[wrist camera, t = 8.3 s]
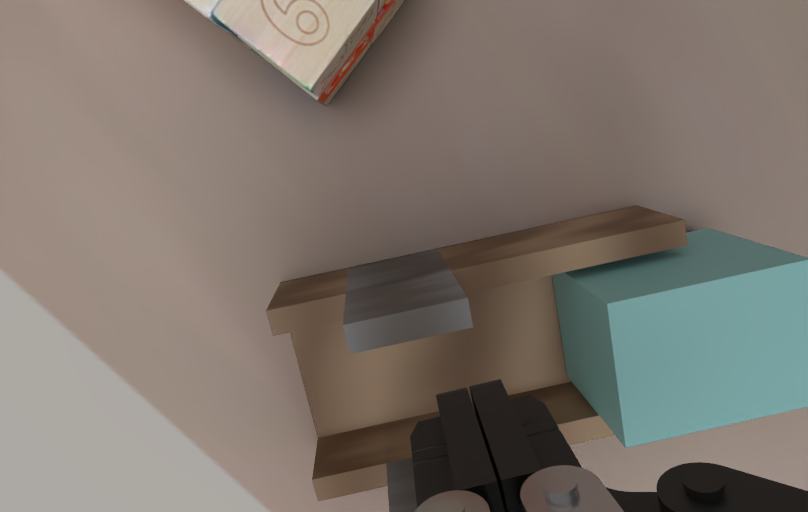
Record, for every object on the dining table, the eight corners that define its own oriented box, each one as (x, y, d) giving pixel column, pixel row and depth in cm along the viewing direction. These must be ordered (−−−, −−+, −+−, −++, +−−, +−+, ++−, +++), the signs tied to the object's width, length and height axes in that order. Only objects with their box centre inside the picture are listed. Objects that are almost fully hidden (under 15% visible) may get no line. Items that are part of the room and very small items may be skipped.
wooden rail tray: (636, 205, 26) (744, 237, 19) (655, 373, 28) (760, 462, 21) (280, 282, 26) (248, 345, 18) (324, 447, 27) (310, 565, 20)
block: (707, 227, 25) (811, 258, 20) (717, 342, 27) (817, 404, 21) (550, 262, 25) (606, 303, 19) (567, 376, 26) (625, 447, 21)
